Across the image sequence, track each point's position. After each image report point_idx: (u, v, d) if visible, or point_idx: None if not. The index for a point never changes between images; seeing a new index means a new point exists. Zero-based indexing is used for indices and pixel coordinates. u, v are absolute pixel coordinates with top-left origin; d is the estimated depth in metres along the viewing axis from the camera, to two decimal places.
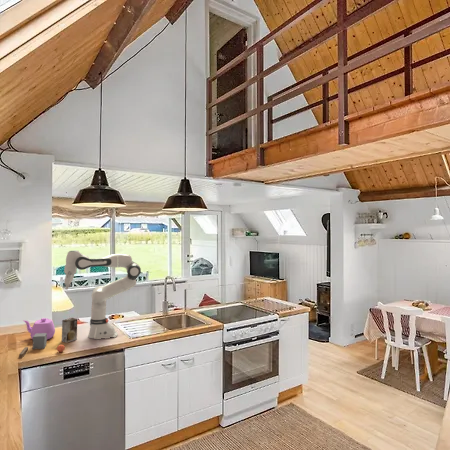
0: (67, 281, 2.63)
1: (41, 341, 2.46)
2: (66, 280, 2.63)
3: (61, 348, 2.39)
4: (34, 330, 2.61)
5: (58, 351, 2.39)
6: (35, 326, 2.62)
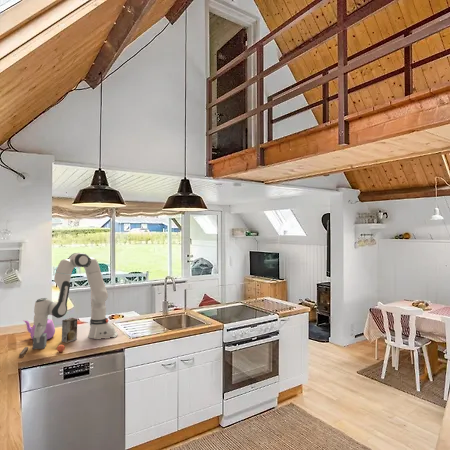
0: (37, 335, 2.40)
1: (41, 341, 2.46)
2: (36, 334, 2.40)
3: (61, 348, 2.39)
4: (34, 330, 2.61)
5: (58, 351, 2.39)
6: None
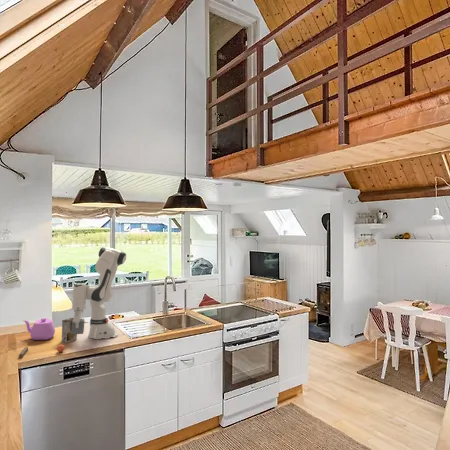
0: (77, 319, 2.35)
1: (80, 326, 2.41)
2: (75, 318, 2.35)
3: (61, 348, 2.39)
4: (34, 330, 2.61)
5: (58, 351, 2.39)
6: (35, 326, 2.62)
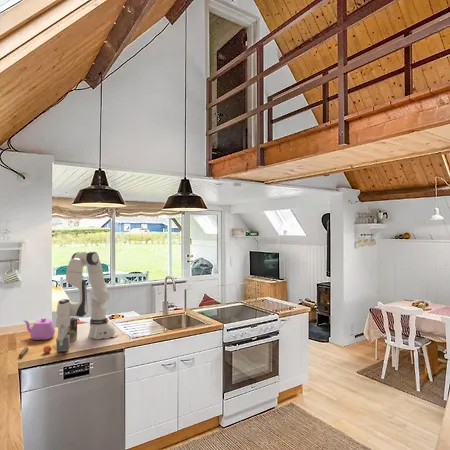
0: (60, 337, 2.32)
1: (65, 343, 2.39)
2: (59, 336, 2.32)
3: (45, 351, 2.37)
4: (34, 330, 2.61)
5: (48, 347, 2.38)
6: (35, 326, 2.62)
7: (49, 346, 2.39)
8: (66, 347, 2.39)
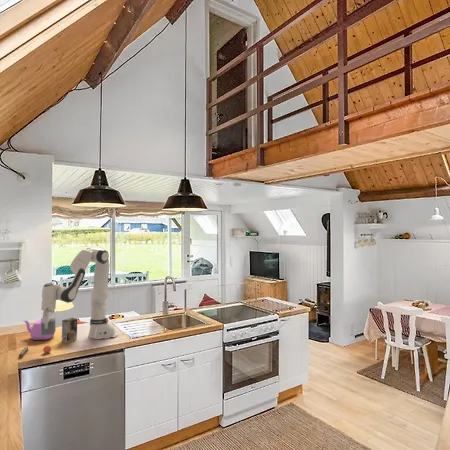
0: (45, 320, 2.29)
1: (50, 326, 2.36)
2: (44, 319, 2.29)
3: (45, 351, 2.37)
4: (34, 330, 2.61)
5: (48, 347, 2.38)
6: (35, 326, 2.62)
7: (49, 346, 2.39)
8: (51, 330, 2.36)
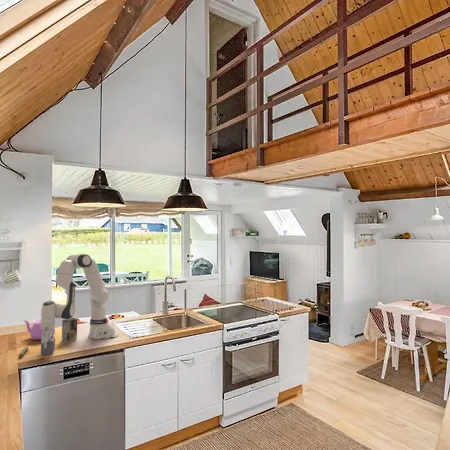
0: (44, 340, 2.29)
1: (49, 346, 2.36)
2: (43, 339, 2.29)
3: None
4: (34, 330, 2.61)
5: None
6: (35, 326, 2.62)
7: None
8: (51, 351, 2.36)
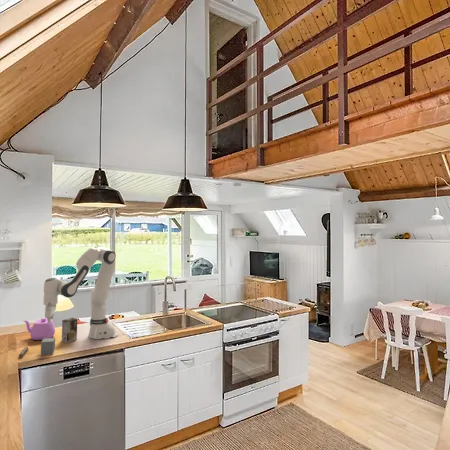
0: (48, 314, 2.35)
1: (49, 346, 2.36)
2: (46, 313, 2.35)
3: None
4: (34, 330, 2.61)
5: None
6: (35, 326, 2.62)
7: None
8: (51, 351, 2.36)
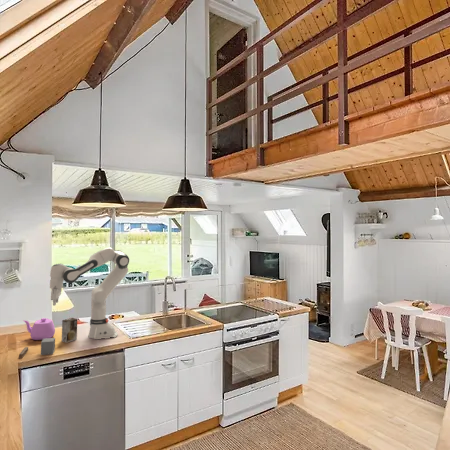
0: (53, 297, 2.50)
1: (49, 346, 2.36)
2: (52, 296, 2.50)
3: None
4: (34, 330, 2.61)
5: None
6: (35, 326, 2.62)
7: None
8: (51, 351, 2.36)
